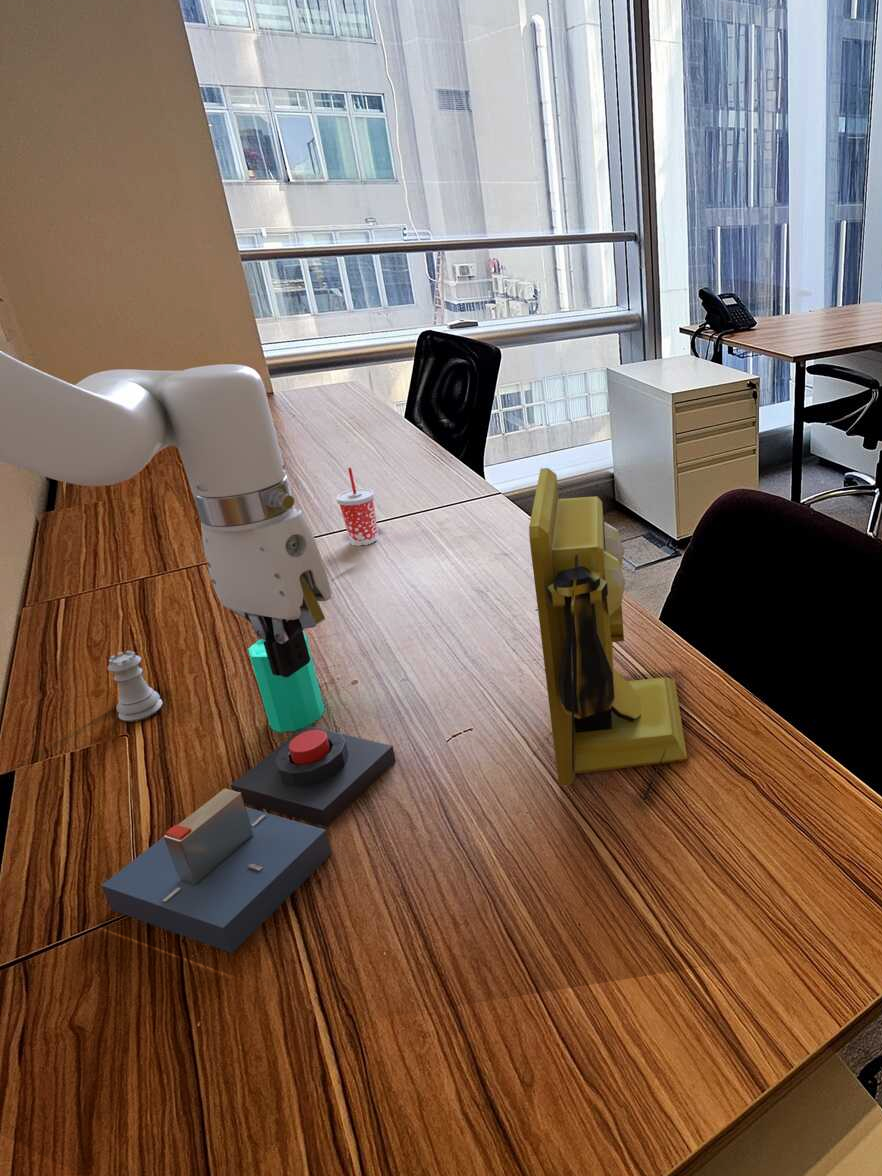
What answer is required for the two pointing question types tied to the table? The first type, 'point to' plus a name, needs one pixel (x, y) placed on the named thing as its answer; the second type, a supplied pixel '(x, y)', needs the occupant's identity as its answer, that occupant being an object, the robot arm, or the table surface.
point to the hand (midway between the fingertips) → (292, 668)
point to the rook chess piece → (133, 688)
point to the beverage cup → (359, 514)
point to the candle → (287, 692)
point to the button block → (315, 778)
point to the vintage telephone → (592, 645)
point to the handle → (208, 835)
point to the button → (309, 747)
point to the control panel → (222, 883)
